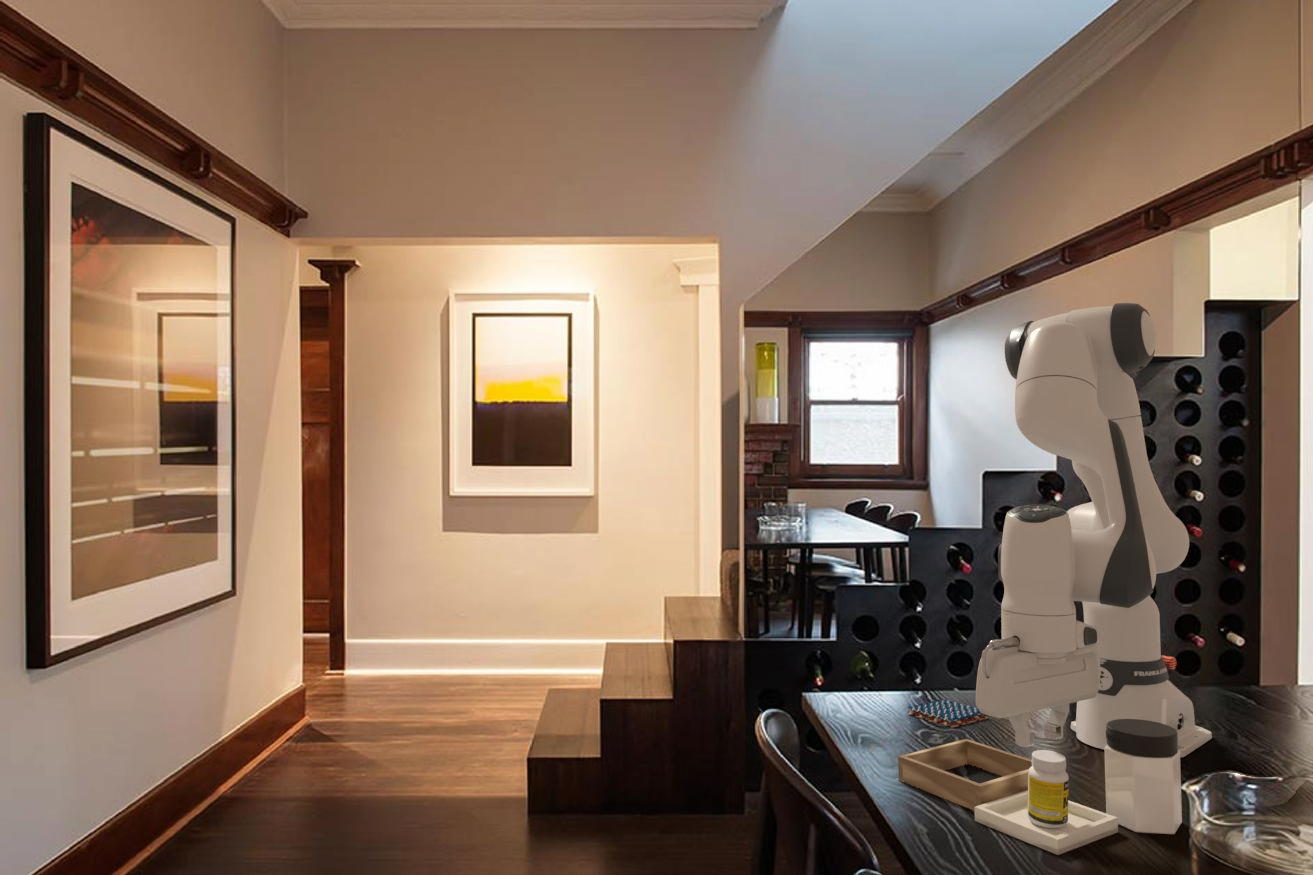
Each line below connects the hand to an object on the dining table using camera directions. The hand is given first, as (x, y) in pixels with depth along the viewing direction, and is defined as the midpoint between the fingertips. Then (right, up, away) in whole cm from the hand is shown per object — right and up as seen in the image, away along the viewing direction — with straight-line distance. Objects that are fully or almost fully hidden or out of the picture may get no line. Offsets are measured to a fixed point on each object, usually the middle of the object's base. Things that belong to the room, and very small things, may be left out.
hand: (1039, 741), depth 115 cm
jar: (+14, -11, +1) cm, 17 cm away
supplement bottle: (+1, -10, 0) cm, 10 cm away
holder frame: (-3, -11, +14) cm, 18 cm away
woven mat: (+4, -13, +48) cm, 50 cm away
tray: (+1, -11, 0) cm, 11 cm away
